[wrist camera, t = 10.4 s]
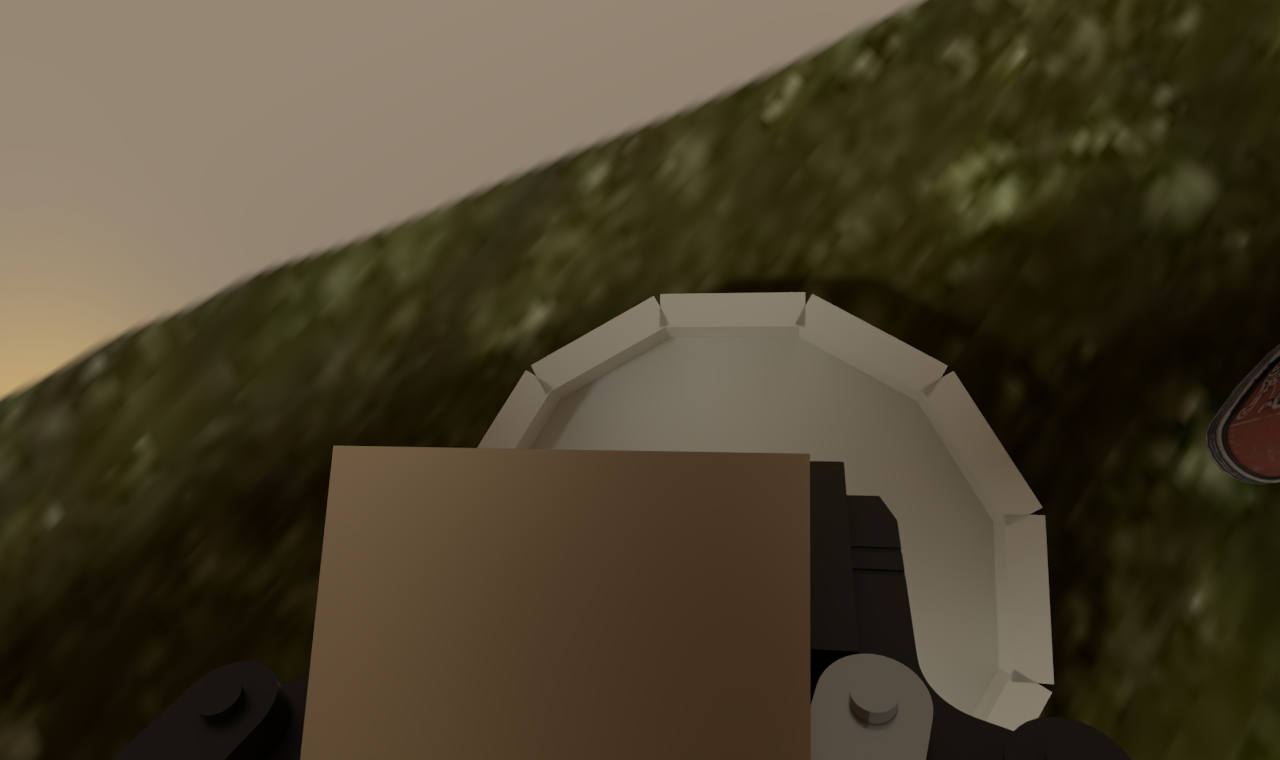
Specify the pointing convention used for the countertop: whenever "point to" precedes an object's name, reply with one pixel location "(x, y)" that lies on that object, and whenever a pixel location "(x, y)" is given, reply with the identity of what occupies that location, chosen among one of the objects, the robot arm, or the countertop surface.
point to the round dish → (828, 457)
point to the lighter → (1250, 426)
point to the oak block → (562, 606)
